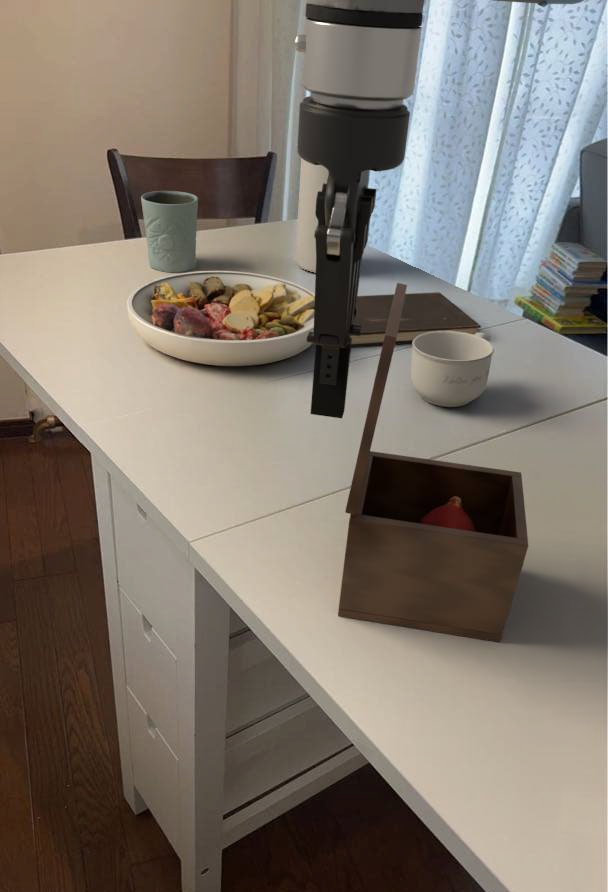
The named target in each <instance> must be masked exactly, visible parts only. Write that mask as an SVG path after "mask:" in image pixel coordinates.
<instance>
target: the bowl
mask: <svg viewBox="0 0 608 892" xmlns="http://www.w3.org/2000/svg"><path fill="white" fill-rule="evenodd" d="M126 305H127V315H128V319H129V322H130V324H131V326H132V328H133V330H134V331H135V332H136V334H137V335H138V336H139V338H141V340H143V341H144V342H145V343H146V344H147V345H149V346H150V347H152V348H154V349H155V350H157V351H159V352H161V353H163V354H165V355H168V356H170V357H173V358H176V359H179V360H183V361H187V362H191V363H195V364H201V365H209V366H210V365H211V366H216V367H217V366H218V367H249V366H259V365H266V364H271V363H275V362H278V361H280V362H281V361H283V360H286V359H289V358H292V357H294V356H296V355H298V354H300V353H302V352H304V351H306V350H307V349H308V348H309V347H311V345H314V344H313V343H309V342H307V336H308V334H309V332H314V307H315V292H313V291H312V290H310V289H308V288H307V287H305V286H303V285H301V284H297V283H295V282H292V281H289V280H286V279H283V278H279V277H276V276H270V275H267V274H261V273H254V272H247V271H246V272H245V271H234V270H201V271H187V272H179V273H175V274H170V275H166V276H161V277H159V278H155V279H153V280H149V281H148V282H145V283H143V284H141V285H140V286H138V287H136V289H134V290H133V291H132V292H131V293H130V294H129V296H128V298H127V301H126Z"/></svg>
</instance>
